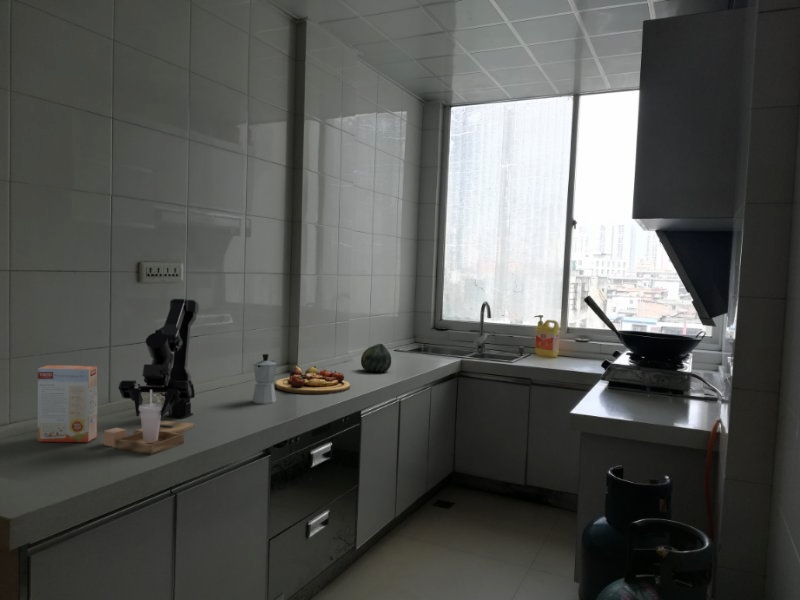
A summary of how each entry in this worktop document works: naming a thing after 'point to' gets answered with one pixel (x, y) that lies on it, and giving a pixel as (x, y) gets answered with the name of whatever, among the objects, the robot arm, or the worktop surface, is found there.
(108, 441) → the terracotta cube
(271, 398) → the coffee maker
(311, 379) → the wooden plate with food
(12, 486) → the worktop surface
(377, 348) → the squash
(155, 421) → the smoothie
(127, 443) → the wooden tray
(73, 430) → the cracker box
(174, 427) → the lid
